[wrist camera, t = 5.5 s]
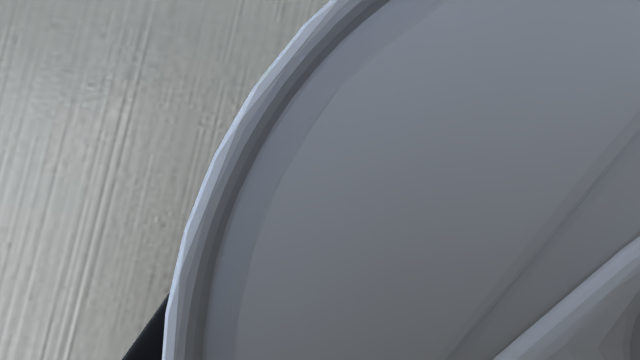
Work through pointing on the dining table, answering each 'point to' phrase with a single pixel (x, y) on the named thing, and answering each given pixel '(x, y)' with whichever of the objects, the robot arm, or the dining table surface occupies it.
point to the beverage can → (425, 191)
